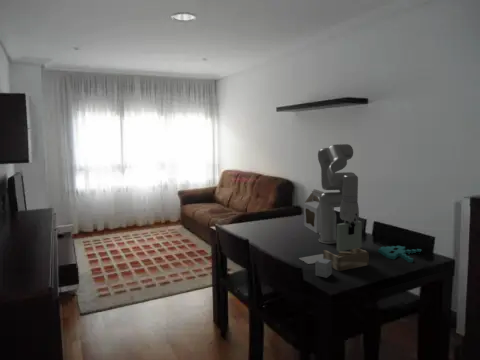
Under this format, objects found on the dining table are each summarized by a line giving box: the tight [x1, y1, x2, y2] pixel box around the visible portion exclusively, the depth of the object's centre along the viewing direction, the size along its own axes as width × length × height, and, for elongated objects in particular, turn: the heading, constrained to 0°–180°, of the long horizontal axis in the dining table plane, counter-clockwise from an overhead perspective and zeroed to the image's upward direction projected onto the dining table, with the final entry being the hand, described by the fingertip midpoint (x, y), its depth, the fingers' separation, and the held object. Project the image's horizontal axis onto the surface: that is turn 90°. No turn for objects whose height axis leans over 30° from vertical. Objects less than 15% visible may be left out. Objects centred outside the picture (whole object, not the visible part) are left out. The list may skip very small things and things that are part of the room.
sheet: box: [335, 220, 363, 253], centre depth 192 cm, size 2×14×14 cm, turn 112°
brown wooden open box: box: [322, 248, 370, 272], centre depth 196 cm, size 13×19×7 cm
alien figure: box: [377, 245, 423, 263], centre depth 209 cm, size 20×2×20 cm
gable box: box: [303, 188, 335, 234], centre depth 266 cm, size 22×13×28 cm, turn 14°
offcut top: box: [338, 250, 351, 256], centre depth 197 cm, size 2×6×2 cm, turn 77°
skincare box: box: [314, 258, 333, 279], centre depth 182 cm, size 6×6×7 cm
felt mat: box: [298, 253, 323, 265], centre depth 204 cm, size 10×16×1 cm, turn 112°
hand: (349, 233), depth 192 cm, fingers closed on sheet, 2 cm apart
